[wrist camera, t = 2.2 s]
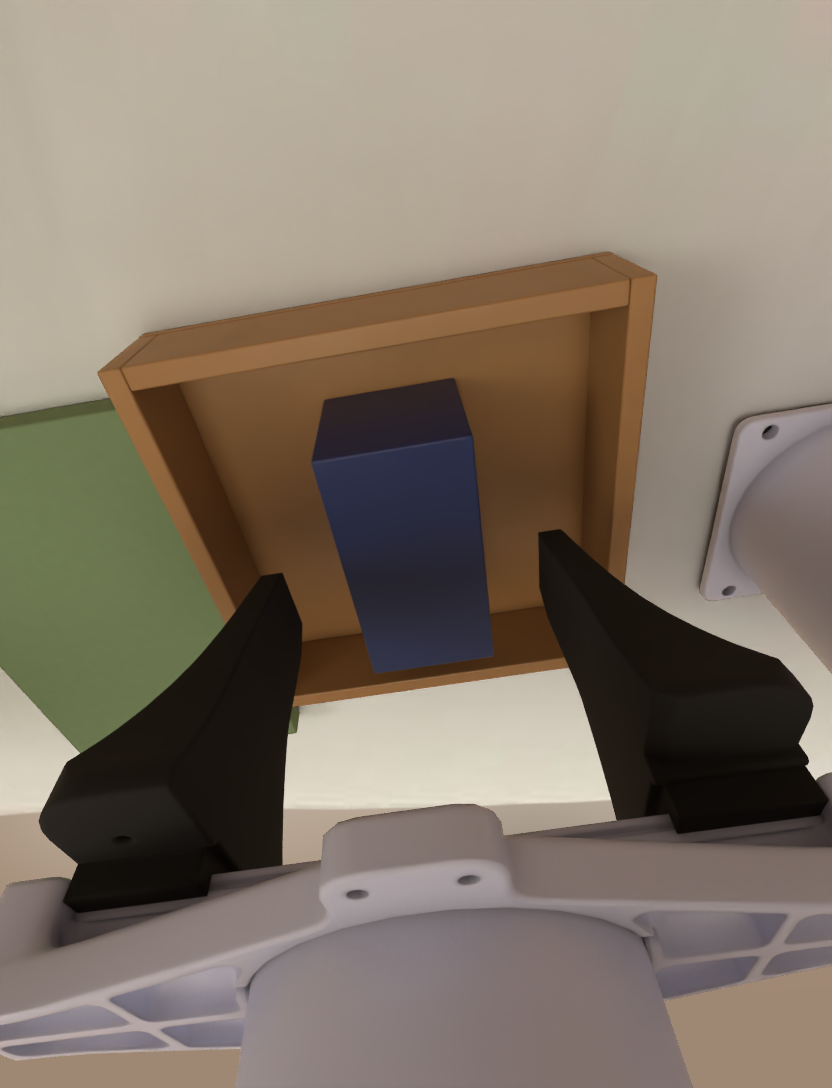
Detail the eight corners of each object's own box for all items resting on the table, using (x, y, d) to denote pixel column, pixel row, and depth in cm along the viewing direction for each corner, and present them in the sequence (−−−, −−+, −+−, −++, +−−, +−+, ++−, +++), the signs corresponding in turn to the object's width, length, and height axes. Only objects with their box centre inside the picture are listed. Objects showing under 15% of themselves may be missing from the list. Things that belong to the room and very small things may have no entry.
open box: (609, 250, 15) (658, 274, 12) (589, 602, 23) (616, 661, 20) (142, 333, 15) (94, 371, 13) (280, 648, 23) (268, 711, 21)
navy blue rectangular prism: (454, 377, 16) (473, 435, 13) (476, 578, 21) (494, 657, 18) (323, 399, 16) (310, 462, 13) (374, 593, 21) (374, 674, 18)
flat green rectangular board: (153, 390, 16) (139, 405, 15) (300, 711, 26) (297, 733, 25) (-159, 443, 17) (-192, 462, 16) (98, 740, 26) (88, 763, 25)
